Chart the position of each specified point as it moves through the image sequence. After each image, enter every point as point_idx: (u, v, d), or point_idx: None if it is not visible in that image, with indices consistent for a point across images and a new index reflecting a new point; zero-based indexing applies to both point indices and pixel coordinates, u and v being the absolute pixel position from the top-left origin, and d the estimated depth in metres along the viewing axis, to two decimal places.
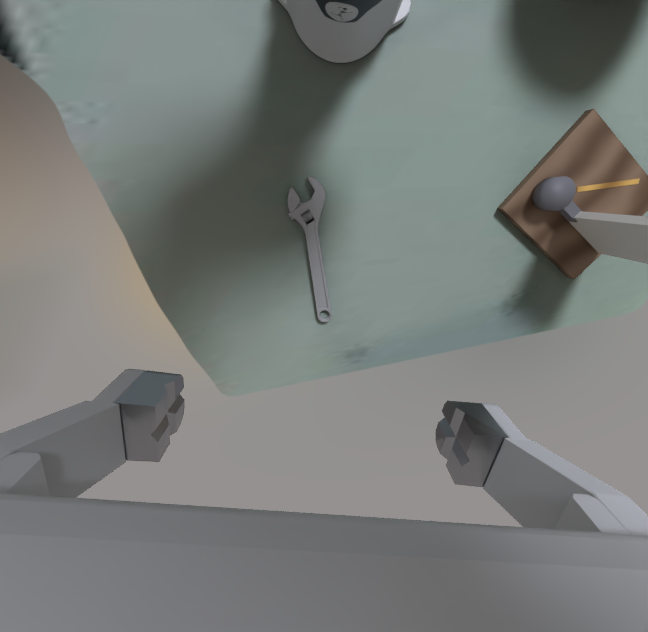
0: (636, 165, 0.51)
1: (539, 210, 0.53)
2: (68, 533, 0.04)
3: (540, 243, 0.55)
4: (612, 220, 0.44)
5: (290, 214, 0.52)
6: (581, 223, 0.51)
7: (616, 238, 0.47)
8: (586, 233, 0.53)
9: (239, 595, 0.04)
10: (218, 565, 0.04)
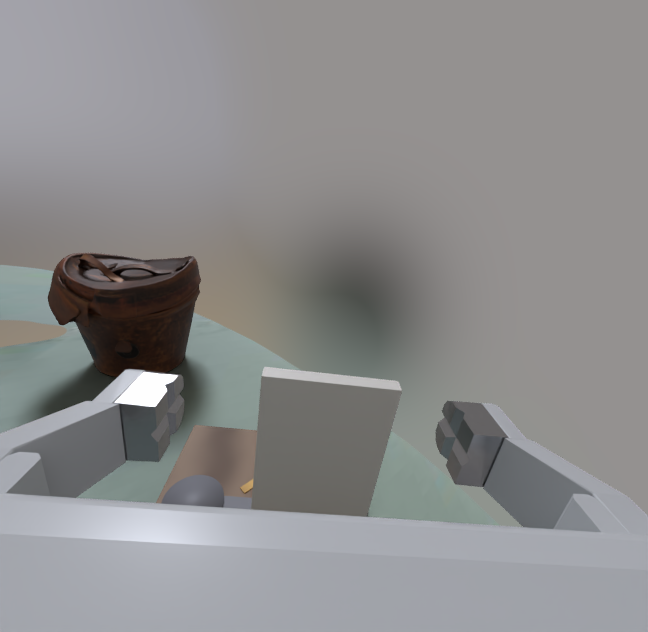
0: None
1: None
2: (69, 533, 0.04)
3: None
4: (256, 449, 0.25)
5: None
6: (268, 510, 0.27)
7: (309, 474, 0.26)
8: None
9: (239, 595, 0.04)
10: (218, 565, 0.04)
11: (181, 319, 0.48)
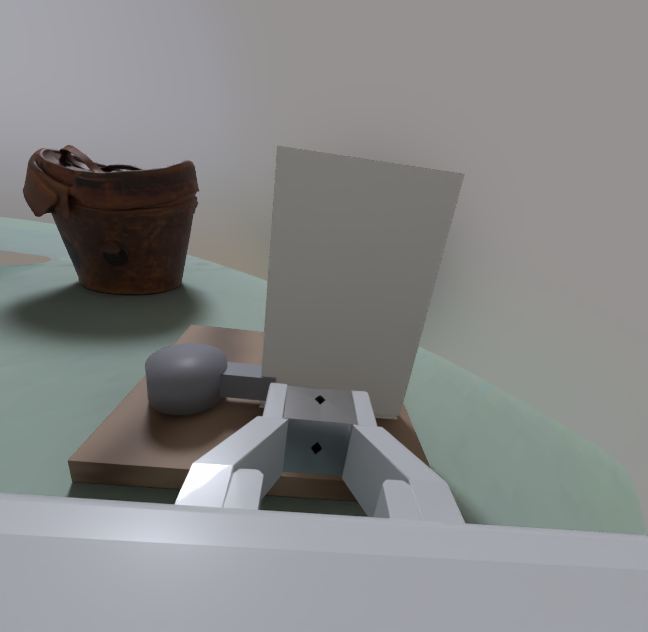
0: None
1: (195, 421, 0.20)
2: (69, 532, 0.04)
3: None
4: (268, 275, 0.19)
5: None
6: (283, 372, 0.21)
7: (337, 315, 0.20)
8: None
9: (239, 595, 0.04)
10: (218, 565, 0.04)
11: (176, 226, 0.42)
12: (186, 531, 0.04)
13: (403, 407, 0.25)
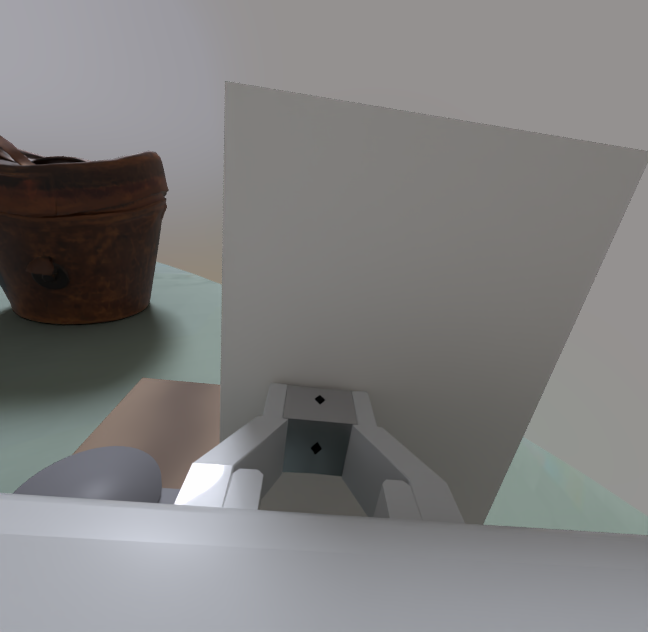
0: None
1: None
2: (69, 532, 0.04)
3: None
4: None
5: None
6: None
7: None
8: None
9: (239, 595, 0.04)
10: (218, 565, 0.04)
11: (135, 236, 0.32)
12: (186, 531, 0.04)
13: None
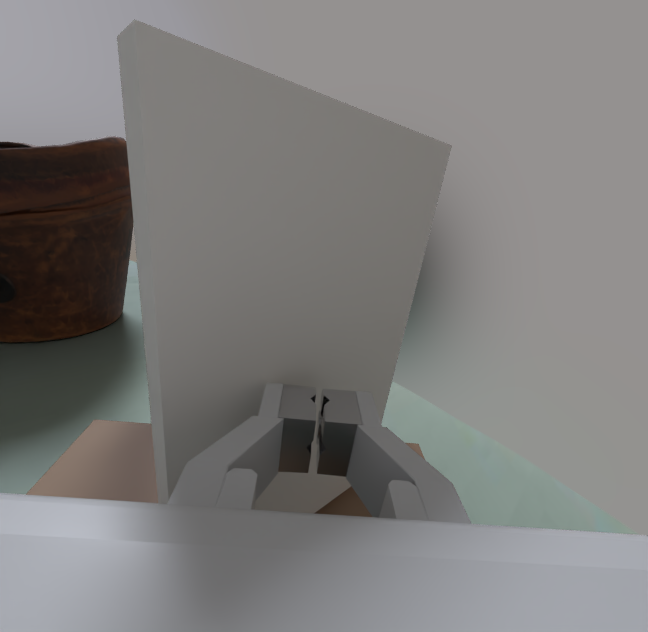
0: None
1: None
2: (69, 533, 0.04)
3: None
4: (158, 389, 0.08)
5: None
6: None
7: None
8: None
9: (239, 595, 0.04)
10: (218, 565, 0.04)
11: (98, 238, 0.27)
12: (186, 531, 0.04)
13: None
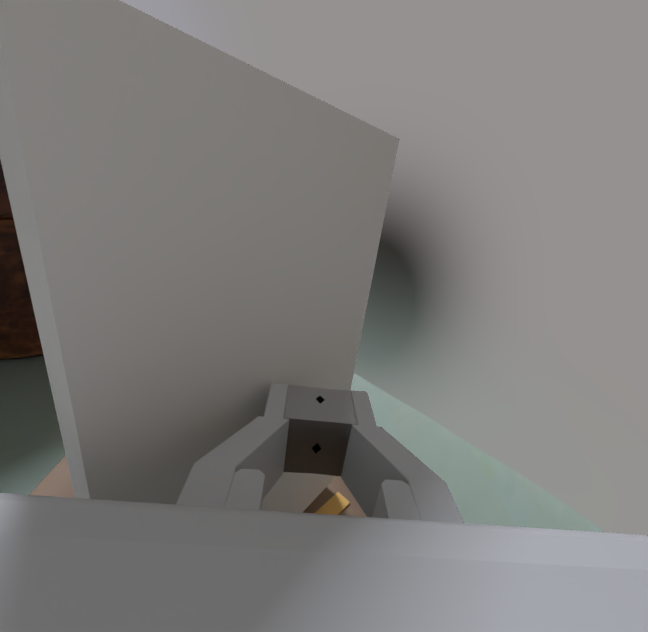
0: None
1: None
2: (68, 533, 0.04)
3: None
4: (77, 449, 0.06)
5: None
6: None
7: None
8: None
9: (239, 595, 0.04)
10: (218, 565, 0.04)
11: None
12: (186, 531, 0.04)
13: None
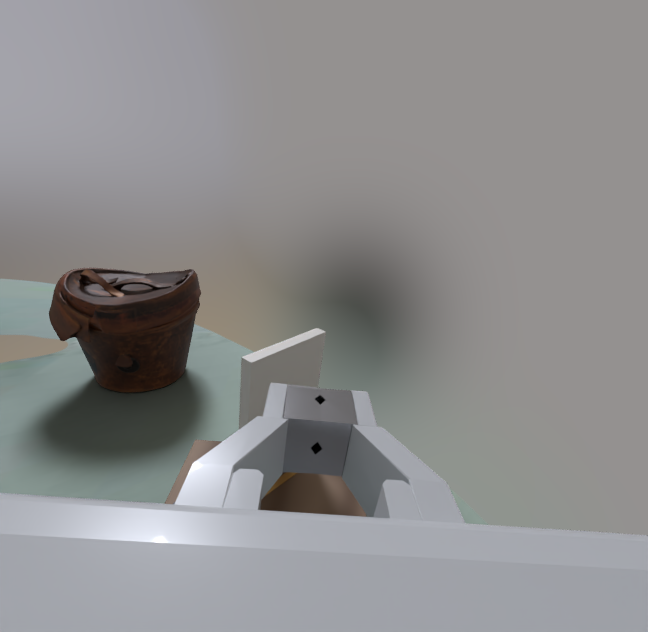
0: None
1: None
2: (69, 532, 0.04)
3: None
4: None
5: None
6: None
7: None
8: None
9: (239, 595, 0.04)
10: (218, 565, 0.04)
11: (181, 332, 0.48)
12: (186, 531, 0.04)
13: None
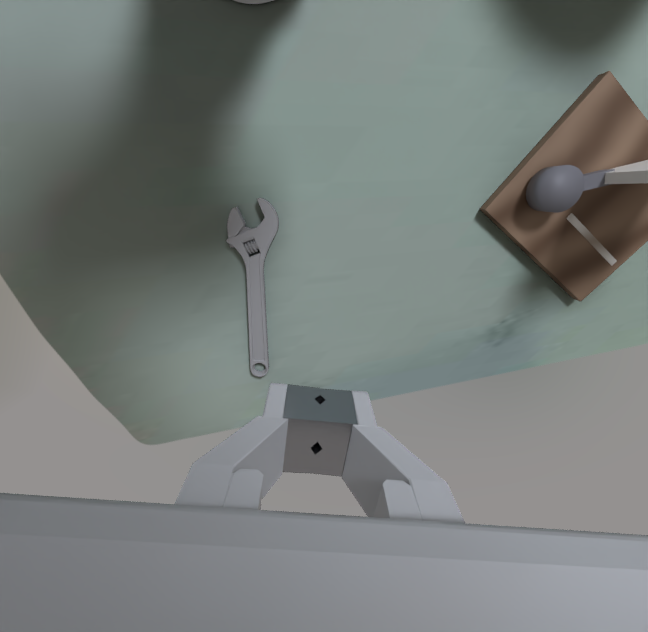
0: None
1: (535, 211, 0.40)
2: (69, 533, 0.04)
3: (536, 255, 0.42)
4: None
5: (229, 240, 0.40)
6: None
7: None
8: None
9: (239, 595, 0.04)
10: (218, 565, 0.04)
11: None
12: (186, 531, 0.04)
13: (624, 260, 0.42)
